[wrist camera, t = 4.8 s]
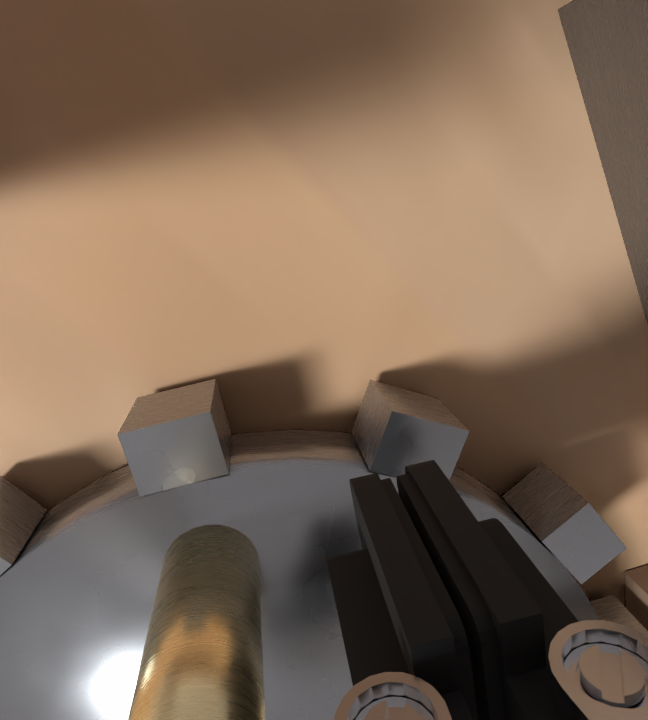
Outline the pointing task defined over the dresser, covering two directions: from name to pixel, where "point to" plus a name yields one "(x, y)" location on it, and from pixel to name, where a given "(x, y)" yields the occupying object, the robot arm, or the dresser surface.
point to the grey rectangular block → (617, 109)
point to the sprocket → (236, 561)
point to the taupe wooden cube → (637, 594)
